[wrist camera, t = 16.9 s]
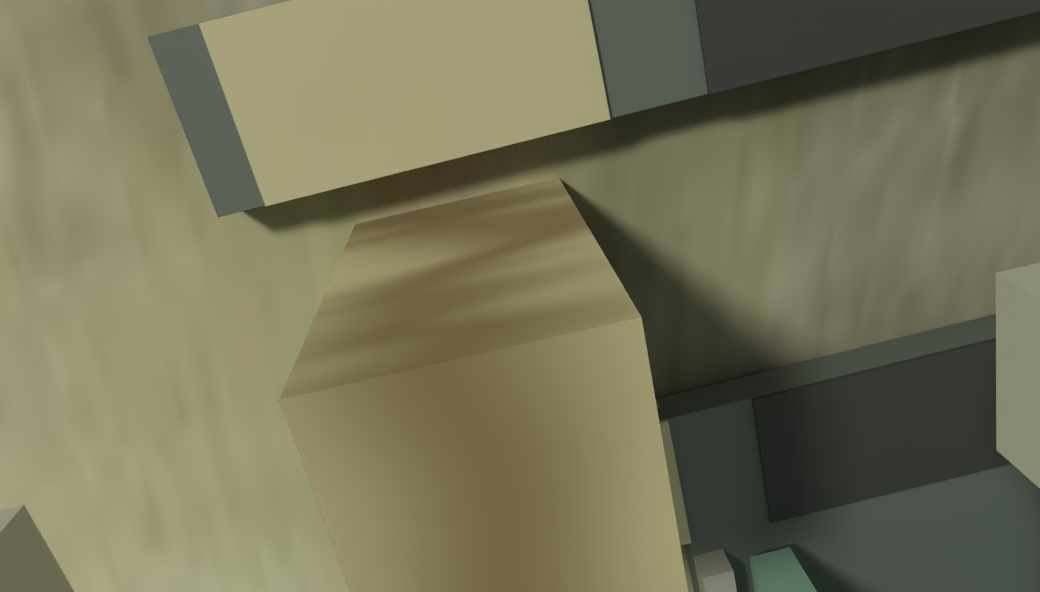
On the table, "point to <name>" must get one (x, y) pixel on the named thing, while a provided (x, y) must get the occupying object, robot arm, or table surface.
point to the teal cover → (779, 572)
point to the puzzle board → (598, 97)
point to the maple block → (484, 407)
